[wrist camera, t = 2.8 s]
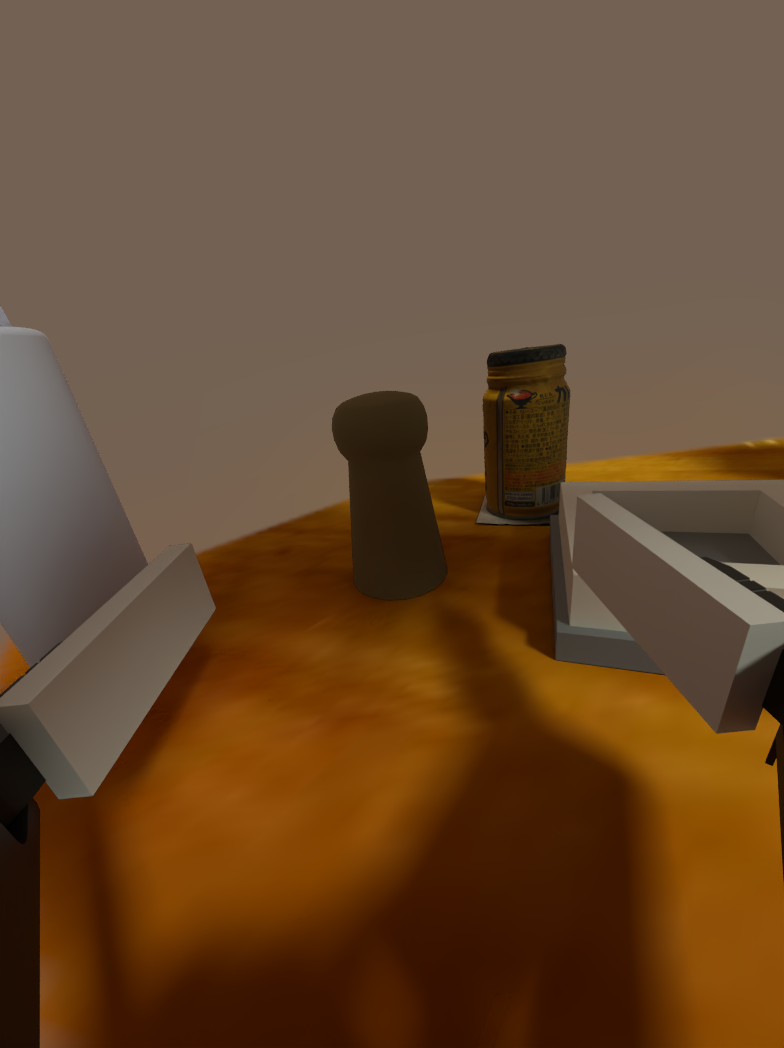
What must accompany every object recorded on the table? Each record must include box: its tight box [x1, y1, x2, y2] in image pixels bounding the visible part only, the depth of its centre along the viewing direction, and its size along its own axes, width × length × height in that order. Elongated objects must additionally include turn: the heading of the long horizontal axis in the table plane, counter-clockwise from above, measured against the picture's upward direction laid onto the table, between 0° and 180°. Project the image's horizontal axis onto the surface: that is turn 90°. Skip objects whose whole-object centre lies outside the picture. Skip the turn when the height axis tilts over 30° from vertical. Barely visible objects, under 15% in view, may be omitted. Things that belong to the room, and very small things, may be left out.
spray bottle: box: [0, 306, 148, 668], centre depth 16 cm, size 6×6×22 cm
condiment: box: [476, 344, 570, 525], centre depth 29 cm, size 7×8×12 cm
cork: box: [332, 391, 447, 600], centre depth 23 cm, size 6×6×11 cm
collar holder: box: [549, 480, 784, 675], centre depth 19 cm, size 12×12×4 cm
